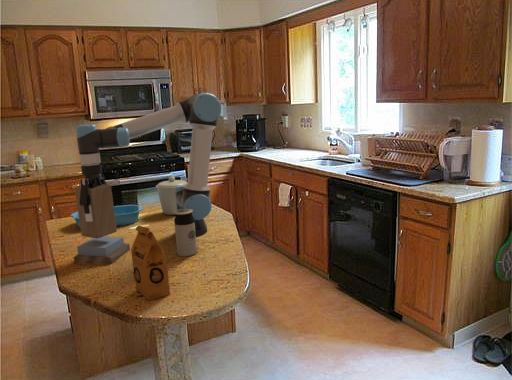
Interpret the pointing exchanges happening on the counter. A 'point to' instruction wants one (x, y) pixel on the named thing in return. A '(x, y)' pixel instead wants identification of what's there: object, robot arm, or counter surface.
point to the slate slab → (100, 246)
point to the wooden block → (97, 212)
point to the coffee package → (149, 265)
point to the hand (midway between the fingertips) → (97, 216)
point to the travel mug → (185, 232)
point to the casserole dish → (120, 214)
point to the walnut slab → (102, 257)
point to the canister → (169, 194)
